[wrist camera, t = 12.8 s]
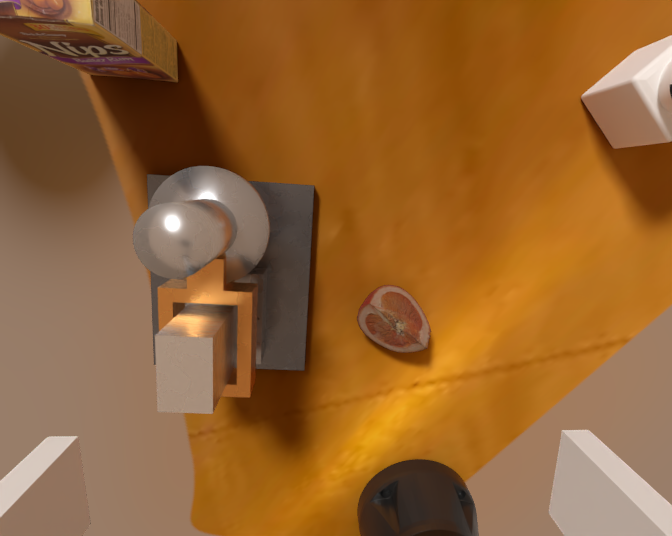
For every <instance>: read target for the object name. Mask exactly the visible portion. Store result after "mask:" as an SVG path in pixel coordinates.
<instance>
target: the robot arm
mask: <svg viewBox="0 0 672 536" xmlns="http://www.w3.org/2000/svg"><path fill="white" fill-rule="evenodd" d="M549 514H550V516H551V517H552V519H553V520H554V522H555V523H556V524H557V526H558V527H559V529H560V530H561V532H562V533H563V534H564V536H672V505H671V504H670V503H669V502H667V501H666V500H665V499H664V498H663V497H662V496H661V495H660V494H659V493H657V492H656V491H655V490H654V489H653V488H652V487H651V486H650V485H649V484H648V483H646V482H645V481H644V480H643V479H642V478H641V477H640V476H639V475H638V474H637V473H635V472H634V471H633V470H632V469H631V468H630V467H629V466H627V464H625V463H624V462H623V461H622V460H621V459H620V458H619V457H618V456H617V455H616V454H615V453H613V452H612V451H611V450H610V449H609V448H608V447H607V446H606V445H604V444H603V443H602V442H601V441H600V440H599V439H598V438H597V437H596V436H595V435H594V434H592V433H591V432H590V431H589V430H562V434H561V441H560V447H559V452H558V458H557V465H556V471H555V476H554V483H553V489H552V495H551V501H550V507H549ZM358 522H359V530H360V534H361V536H479V534H478V524H477V515H476V508H475V504H474V501H473V499H472V496H471V495H470V492H469V490H468V488H467V487H466V484H465V483H464V481H463V480H462V478H461V477H460V476H459V475H458V474H457V473H456V472H455V471H453V470H452V469H451V468H449V467H447V466H445V465H443V464H441V463H438V462H435V461H430V460H408V461H403V462H399V463H396V464H394V465H391V466H389V467H387V468H385V469H384V470H382V471H381V472H379V473H378V474H377V475H375V476H374V477H373V478H372V479H371V480H370V481H369V483H368V484H367V485H366V487H365V488H364V490H363V492H362V494H361V496H360V499H359V503H358ZM90 524H91V523H90V516H89V509H88V502H87V494H86V488H85V481H84V474H83V467H82V460H81V453H80V446H79V439H78V436H59V437H58V436H56V437H47V438H46V439H45V440H44V441H43V442H42V443H41V444H40V445H38V446H37V448H35V449H34V450H33V451H32V452H31V453H30V454H29V455H28V456H27V457H26V458H25V459H23V460H22V461H21V462H20V463H19V464H18V465H17V466H16V467H15V468H14V469H13V470H12V471H11V472H9V473H8V474H7V475H6V476H5V477H4V478H3V479H2V480H1V481H0V536H83V534H84V532H85V531H86V530H87V528H88V527H89V525H90Z"/></svg>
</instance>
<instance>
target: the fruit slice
mask: <svg viewBox="0 0 672 536" xmlns="http://www.w3.org/2000/svg"><path fill="white" fill-rule="evenodd" d="M357 321H358V324H359V327H360V328H361V330H362V331H363V332H364V334H365V335H366V336H368V337H369V338H370V339H371V340H373V341H374V342H376V343H377V344H379V345H381V346H383V347H385V348H387V349H389V350H392V351H395V352H403V353H406V352H409V353H410V352H416V351H421V350H424V349H427V348H428V342H429V339H430V335H429V334H430V332H431V329H430V326H429V323H428V320H427V318H426V316H425V314H424V312H423V310H422V309H421V307H420V306H419V304H418V303H417V302H416V300H415V299H414V298H413V297H412V296H411V295H410V294H409V293H408V292H407V291H405V290H404V289H402V288H400V287H398V286H394V285H384V286H381V287H379V288H377V289H376V290H374V291H373V292H372V293H371V294H370V295H368V297H367V298H366V299H365V301H364V302H363V304H362V305H361V307H360V309H359V312H358V316H357Z"/></svg>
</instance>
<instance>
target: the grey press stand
mask: <svg viewBox="0 0 672 536" xmlns="http://www.w3.org/2000/svg"><path fill="white" fill-rule="evenodd" d="M147 187H148V210H146V211H145V212H144V213H143V214H142V215H141V216H140V217H139V219H138V220H137V222H136V224H135V227H134V232H133V244H134V249H135V251H136V254H137V256H138V258H139V259H140V261H141V262H142V263H143V264H144V266H145V267H146V268H148V269H149V270H150V271H151V295H152V321H153V347H154V348H153V349H154V364H155V365H156V353H155V335H156V334H157V333H158V332H159V331H160V330H161V329H162V328H163V327H164V326H166V325H167V324H168V323H169V322H170V321H171V320H172V319H173V318H174V317H175V316H176V315H178V314H179V313H180V312H181V311H182V310H183V309H184V308H185V307H186V306H187V305H188V304H190V303H201V304H221V305H238V324H237V363H236V365H235V367H234V368H237V369H233V371H232V374H231V376H230V378H229V380H228V382H227V384H226V387H225V389H224V391H223V393H222V395H221V397H248V398H250V396H251V393H252V390H253V387H254V384H255V381H256V369H277V370H302V371H304V368H305V351H306V332H307V313H308V295H309V276H310V257H311V238H312V220H313V201H314V186H312V185H298V184H283V183H268V182H254V181H247V180H245V179H244V178H243V177H241V176H239V175H238V174H236V173H234V172H232V171H229V170H226V169H223V168H219V167H212V166H195V167H190V168H186V169H183V170H181V171H178V172H176V173H175V174H173V175H171V176H165V175H151V174H147Z"/></svg>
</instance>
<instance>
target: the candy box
mask: <svg viewBox="0 0 672 536" xmlns="http://www.w3.org/2000/svg"><path fill="white" fill-rule="evenodd" d="M0 35H2V36H4V37H6V38H9V39H11V40H13V41H16V42H18V43H20V44H22V45H24V46H27V47H29V48H31V49H33V50H36V51H38V52H40V53H42V54H44V55H47V56H49V57H51V58H53V59H56V60H58V61H60V62H63V63H65V64H67V65H69V66H72V67H74V68H76V69H78V70H80V71H82V72H85V73H87V74H90V75H100V76H115V77H127V78H138V79H149V80H161V81H170V82H178V67H177V40H176V39H175V38H173V37H172V35H171V34H170V33H169V32H168V31H167V30H166V29H165V28H163V27H162V26H161V25H160V24H159V23H158V22H157V21H156V20H155V19H154V18H153V17H152V15H151V14H149V13H148V12H147V11H146V10H145V9H144V8H143V7H142V6H141V5H140V4H139V3H138V2H137V1H136V0H0Z"/></svg>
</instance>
